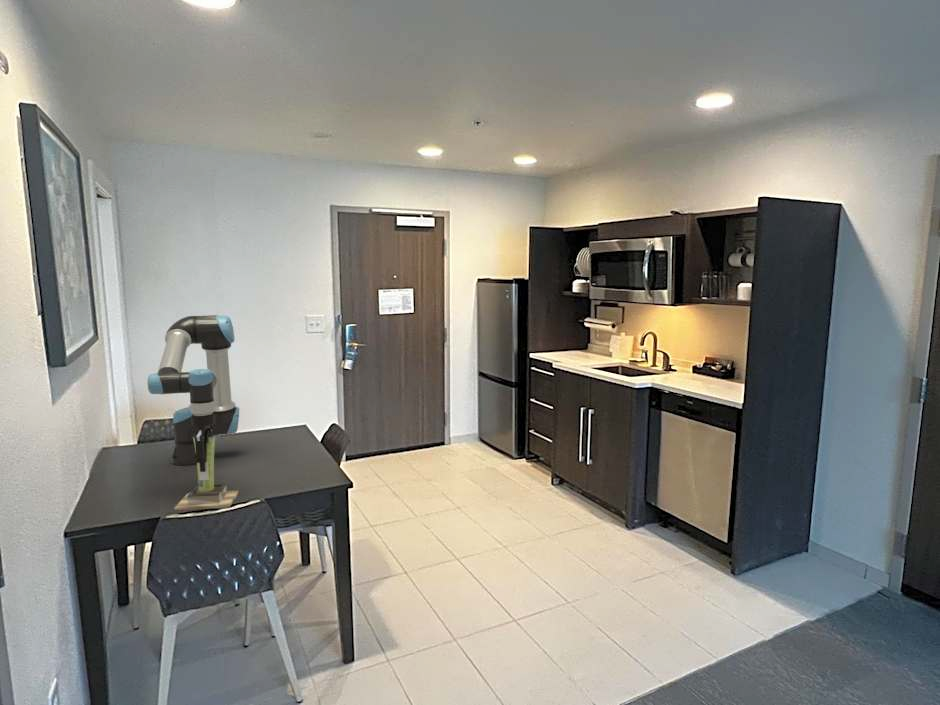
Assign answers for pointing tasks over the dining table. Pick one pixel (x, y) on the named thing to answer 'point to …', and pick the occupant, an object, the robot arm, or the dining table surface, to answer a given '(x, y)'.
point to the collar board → (208, 498)
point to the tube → (208, 484)
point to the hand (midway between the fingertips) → (206, 477)
